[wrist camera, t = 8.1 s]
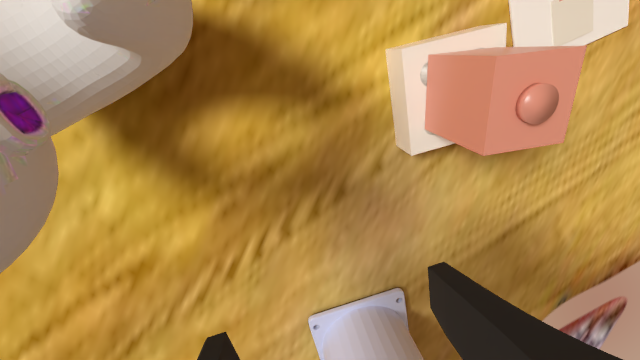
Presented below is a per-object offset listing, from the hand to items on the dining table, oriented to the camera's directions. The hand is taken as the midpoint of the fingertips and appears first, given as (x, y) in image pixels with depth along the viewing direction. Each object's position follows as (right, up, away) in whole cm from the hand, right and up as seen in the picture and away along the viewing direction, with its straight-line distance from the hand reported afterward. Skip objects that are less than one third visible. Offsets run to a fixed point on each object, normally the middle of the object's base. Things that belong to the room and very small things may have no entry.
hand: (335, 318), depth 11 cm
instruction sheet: (+15, +16, +8) cm, 23 cm away
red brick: (+7, +10, +7) cm, 14 cm away
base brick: (+7, +11, +9) cm, 15 cm away
